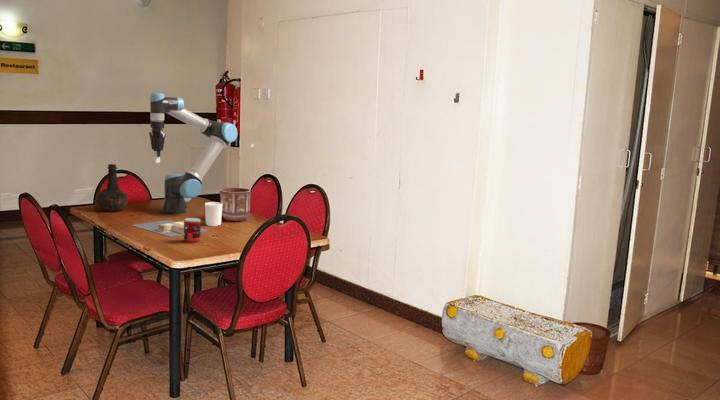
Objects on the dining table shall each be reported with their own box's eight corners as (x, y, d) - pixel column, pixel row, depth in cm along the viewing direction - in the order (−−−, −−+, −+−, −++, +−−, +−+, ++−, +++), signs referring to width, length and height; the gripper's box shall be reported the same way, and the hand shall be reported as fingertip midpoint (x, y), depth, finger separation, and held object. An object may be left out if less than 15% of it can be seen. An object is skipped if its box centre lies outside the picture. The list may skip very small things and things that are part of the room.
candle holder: (225, 224, 347) (226, 203, 345) (216, 227, 338) (216, 205, 336) (210, 222, 350) (211, 201, 349) (200, 225, 341) (201, 203, 339)
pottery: (230, 215, 372) (230, 186, 369) (255, 219, 366) (256, 189, 362) (213, 220, 355) (213, 190, 352) (239, 224, 349) (240, 193, 346)
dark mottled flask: (111, 206, 381) (111, 161, 376) (134, 209, 375) (134, 164, 370) (89, 210, 364) (88, 164, 360) (113, 214, 358) (112, 166, 354)
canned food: (185, 239, 307) (185, 217, 305) (201, 239, 308) (201, 218, 306) (182, 242, 299) (182, 220, 298) (199, 243, 300) (199, 221, 298)
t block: (184, 226, 335) (184, 221, 334) (201, 231, 326) (201, 225, 325) (158, 230, 322) (158, 224, 322) (175, 235, 313) (175, 229, 313)
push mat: (169, 220, 350) (169, 219, 350) (209, 230, 328) (209, 230, 328) (131, 225, 331) (131, 225, 331) (170, 237, 309) (170, 236, 309)
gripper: (144, 120, 345) (144, 161, 349) (158, 121, 338) (158, 164, 341) (156, 120, 351) (156, 161, 355) (169, 121, 343) (169, 163, 347)
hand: (157, 162), depth 348 cm, fingers closed
